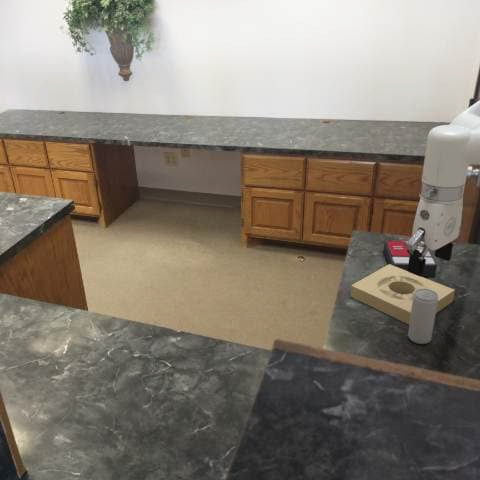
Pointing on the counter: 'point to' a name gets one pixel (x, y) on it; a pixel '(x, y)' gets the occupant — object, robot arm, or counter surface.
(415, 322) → the beverage can
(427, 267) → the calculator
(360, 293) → the socket pad
